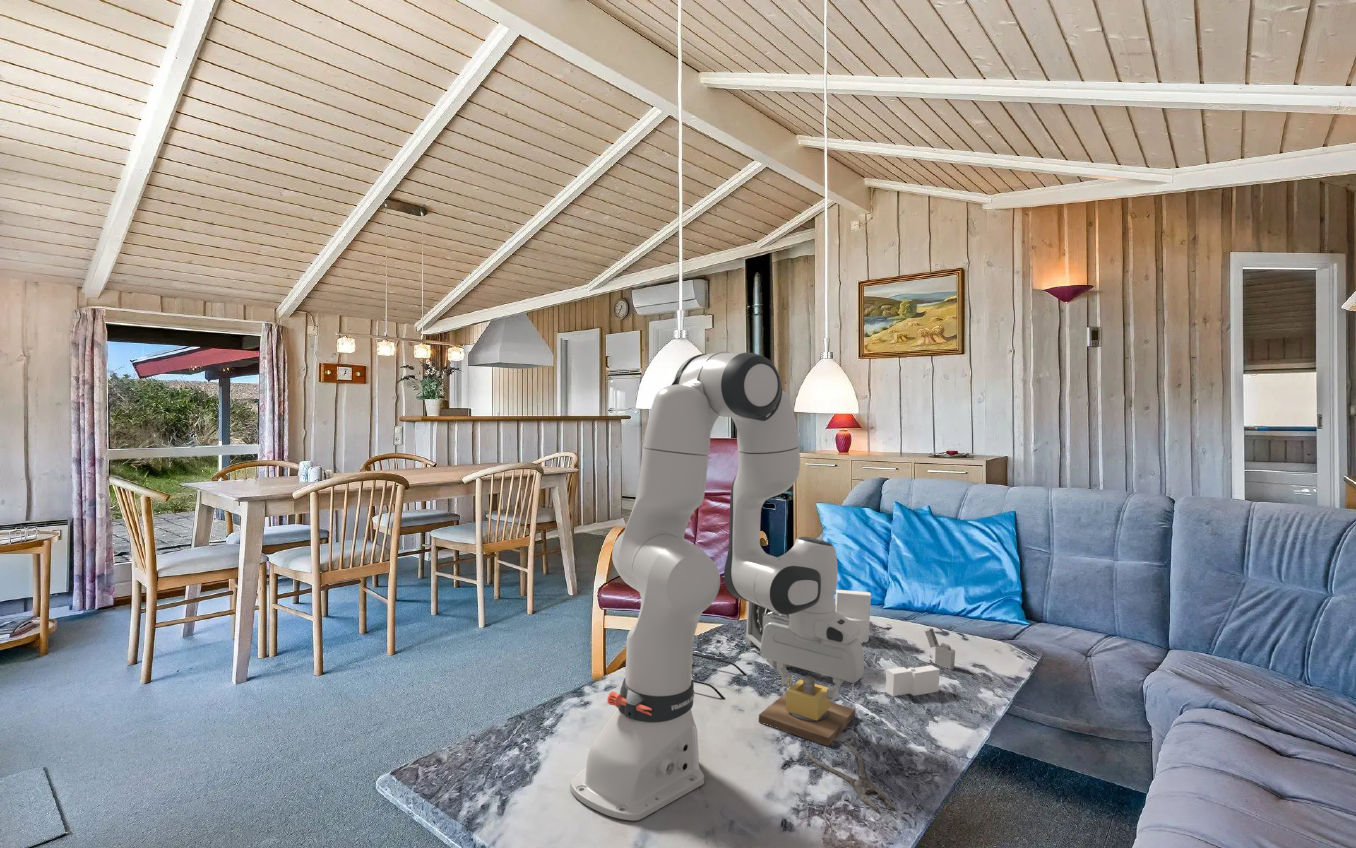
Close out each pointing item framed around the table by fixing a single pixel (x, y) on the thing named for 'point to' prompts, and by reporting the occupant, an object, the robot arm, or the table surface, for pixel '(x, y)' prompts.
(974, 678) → the table surface
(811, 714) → the block with square hole
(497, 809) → the table surface
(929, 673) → the white stepped block
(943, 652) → the lighter
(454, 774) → the table surface
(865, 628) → the base with upright slab
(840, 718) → the post stand
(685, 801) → the table surface
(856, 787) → the pliers
